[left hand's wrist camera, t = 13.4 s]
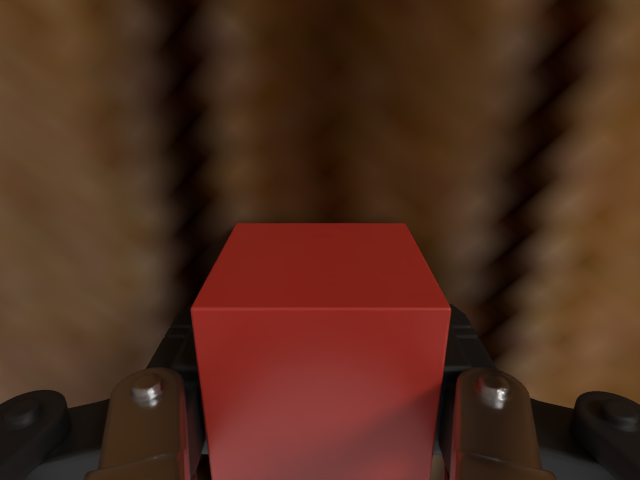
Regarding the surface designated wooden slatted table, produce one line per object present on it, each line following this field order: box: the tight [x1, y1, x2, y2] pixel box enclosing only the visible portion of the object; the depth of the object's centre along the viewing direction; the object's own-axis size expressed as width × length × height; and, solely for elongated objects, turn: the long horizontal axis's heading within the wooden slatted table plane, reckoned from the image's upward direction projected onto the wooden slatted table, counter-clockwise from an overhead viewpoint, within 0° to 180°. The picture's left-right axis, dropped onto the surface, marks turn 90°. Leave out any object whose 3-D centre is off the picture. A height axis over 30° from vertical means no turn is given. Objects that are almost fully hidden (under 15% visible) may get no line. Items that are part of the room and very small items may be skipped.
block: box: [190, 223, 451, 480], centre depth 11 cm, size 4×5×4 cm
